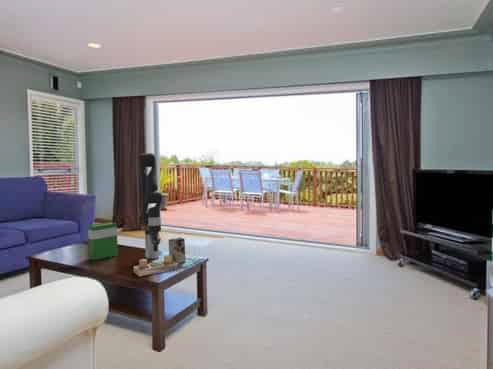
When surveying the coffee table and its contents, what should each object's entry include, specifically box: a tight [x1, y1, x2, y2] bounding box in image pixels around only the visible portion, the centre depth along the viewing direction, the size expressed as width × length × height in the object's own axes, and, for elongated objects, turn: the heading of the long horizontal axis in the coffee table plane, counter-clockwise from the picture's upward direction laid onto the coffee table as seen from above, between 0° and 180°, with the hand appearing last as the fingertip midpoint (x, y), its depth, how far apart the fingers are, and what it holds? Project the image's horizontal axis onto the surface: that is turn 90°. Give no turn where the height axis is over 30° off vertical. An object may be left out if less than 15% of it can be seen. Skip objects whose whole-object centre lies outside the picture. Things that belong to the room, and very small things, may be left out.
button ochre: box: [163, 254, 172, 264], centre depth 238 cm, size 5×5×5 cm
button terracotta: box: [138, 258, 148, 269], centre depth 229 cm, size 5×5×5 cm
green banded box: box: [87, 221, 119, 261], centre depth 266 cm, size 18×7×24 cm, turn 137°
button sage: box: [151, 260, 161, 267], centre depth 234 cm, size 5×5×5 cm
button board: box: [132, 260, 179, 277], centre depth 234 cm, size 11×25×4 cm, turn 124°
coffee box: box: [168, 237, 186, 264], centre depth 250 cm, size 9×6×16 cm
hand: (155, 251), depth 233 cm, fingers closed
